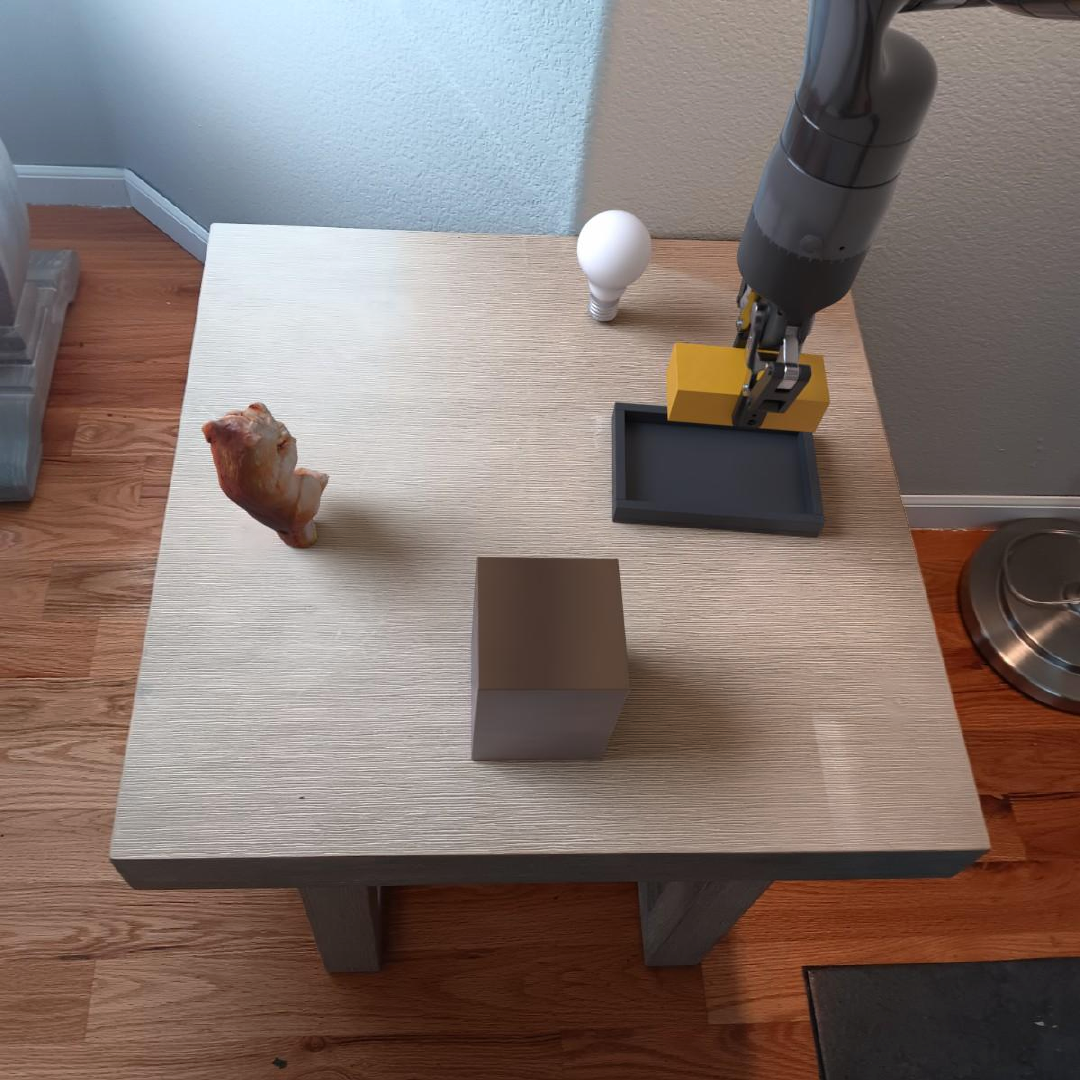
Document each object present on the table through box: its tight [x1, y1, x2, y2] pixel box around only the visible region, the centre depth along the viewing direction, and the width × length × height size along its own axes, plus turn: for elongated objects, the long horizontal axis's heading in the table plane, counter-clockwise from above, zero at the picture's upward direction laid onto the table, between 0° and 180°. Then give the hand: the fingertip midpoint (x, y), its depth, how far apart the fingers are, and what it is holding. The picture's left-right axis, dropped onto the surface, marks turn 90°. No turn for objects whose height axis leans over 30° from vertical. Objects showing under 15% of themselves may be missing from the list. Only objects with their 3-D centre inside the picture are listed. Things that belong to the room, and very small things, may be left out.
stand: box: [470, 556, 631, 761], centre depth 66 cm, size 9×9×12 cm
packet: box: [665, 342, 831, 433], centre depth 74 cm, size 11×4×4 cm, turn 88°
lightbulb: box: [576, 209, 653, 322], centre depth 87 cm, size 6×6×11 cm
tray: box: [610, 401, 826, 538], centre depth 82 cm, size 11×17×2 cm, turn 88°
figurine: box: [200, 401, 330, 549], centre depth 70 cm, size 6×8×15 cm
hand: (742, 395), depth 75 cm, fingers closed on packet, 4 cm apart
